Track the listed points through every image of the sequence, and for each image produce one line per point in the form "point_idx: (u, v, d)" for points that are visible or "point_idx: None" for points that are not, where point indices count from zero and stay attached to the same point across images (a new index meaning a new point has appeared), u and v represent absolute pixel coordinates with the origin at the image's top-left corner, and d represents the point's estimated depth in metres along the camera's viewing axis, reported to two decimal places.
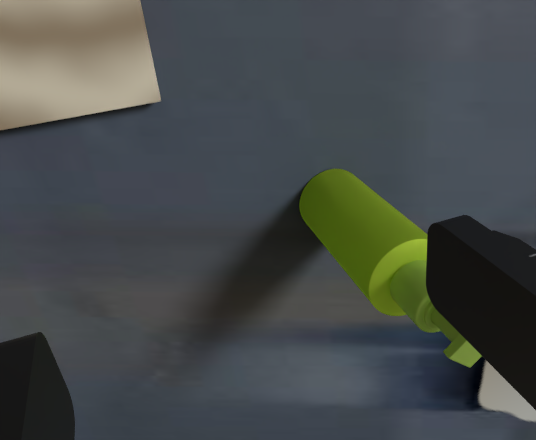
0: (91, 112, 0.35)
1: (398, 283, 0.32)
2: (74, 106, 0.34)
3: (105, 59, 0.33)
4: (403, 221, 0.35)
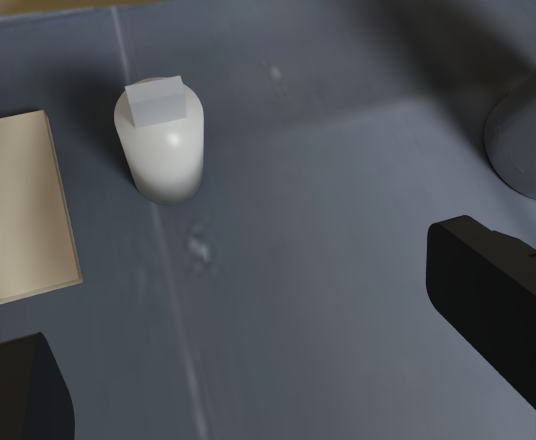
0: None
1: None
2: None
3: None
4: None
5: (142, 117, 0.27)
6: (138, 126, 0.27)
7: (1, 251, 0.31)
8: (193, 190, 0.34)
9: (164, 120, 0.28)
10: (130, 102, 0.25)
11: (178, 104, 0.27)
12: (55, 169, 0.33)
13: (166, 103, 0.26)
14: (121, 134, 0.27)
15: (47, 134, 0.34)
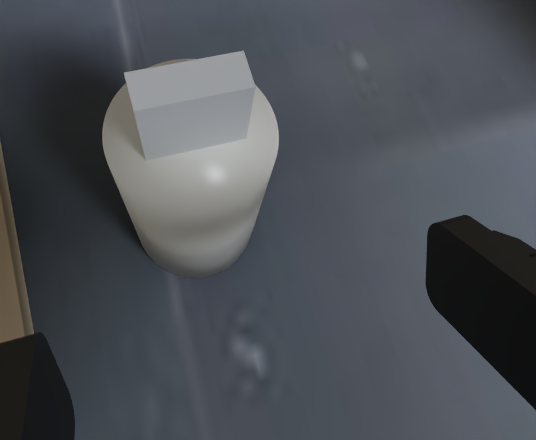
0: None
1: None
2: None
3: None
4: None
5: (160, 139, 0.13)
6: (151, 156, 0.13)
7: None
8: (238, 254, 0.21)
9: (204, 143, 0.14)
10: (136, 108, 0.11)
11: (236, 112, 0.13)
12: (4, 220, 0.19)
13: (213, 110, 0.12)
14: (116, 173, 0.13)
15: None
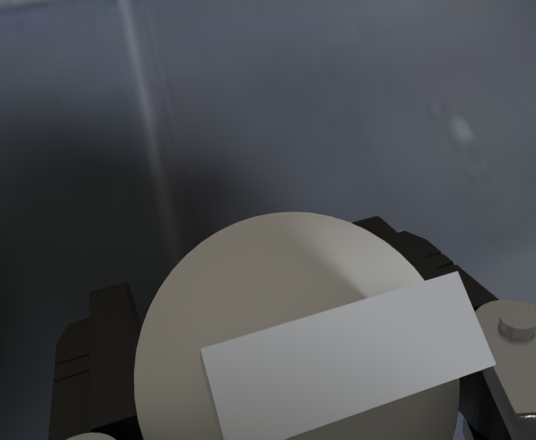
0: None
1: None
2: None
3: None
4: None
5: None
6: None
7: None
8: None
9: None
10: None
11: None
12: None
13: None
14: None
15: None
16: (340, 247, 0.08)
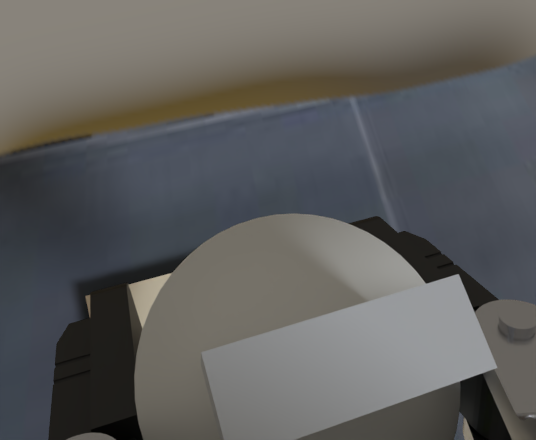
0: None
1: None
2: None
3: None
4: None
5: None
6: None
7: None
8: None
9: None
10: None
11: None
12: None
13: None
14: None
15: None
16: (341, 249, 0.08)
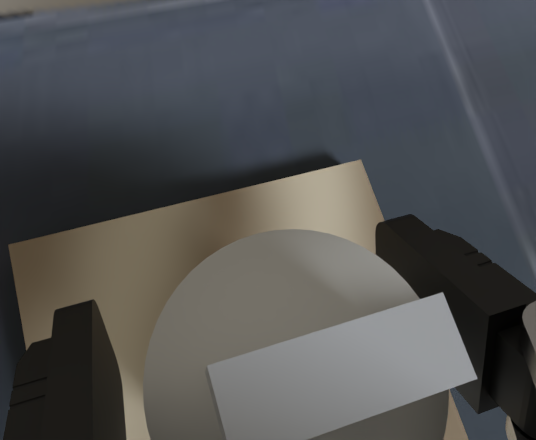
0: None
1: None
2: None
3: None
4: None
5: None
6: None
7: None
8: None
9: None
10: None
11: None
12: None
13: None
14: None
15: (377, 207, 0.18)
16: (336, 262, 0.09)
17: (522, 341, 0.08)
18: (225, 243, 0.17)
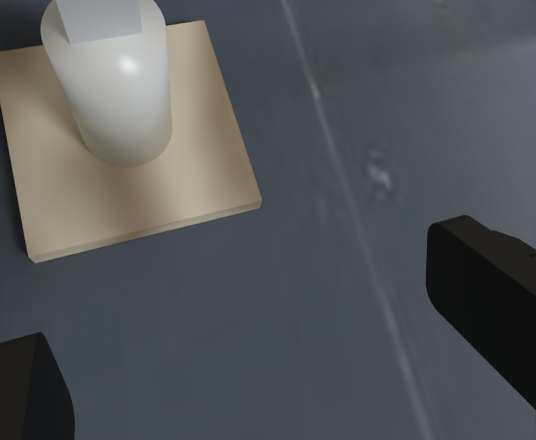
0: (14, 170, 0.26)
1: None
2: (23, 151, 0.27)
3: (85, 187, 0.26)
4: None
5: (77, 24, 0.19)
6: (73, 40, 0.20)
7: (174, 168, 0.27)
8: (158, 148, 0.27)
9: (111, 33, 0.20)
10: None
11: (128, 6, 0.19)
12: (223, 83, 0.30)
13: (110, 2, 0.18)
14: (49, 51, 0.20)
15: (211, 45, 0.30)
16: None
17: None
18: None
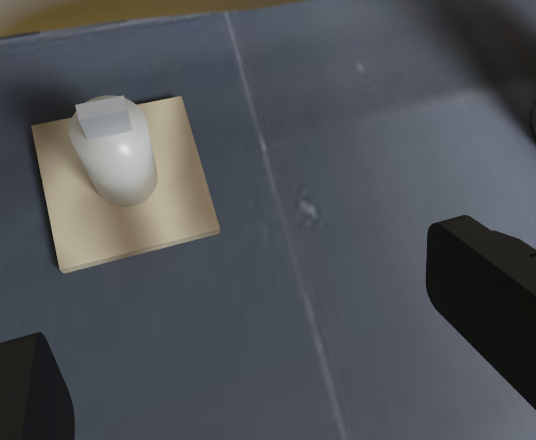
0: (49, 210, 0.38)
1: None
2: (55, 196, 0.39)
3: (97, 221, 0.38)
4: None
5: (92, 131, 0.31)
6: (90, 138, 0.32)
7: (158, 207, 0.39)
8: (147, 193, 0.39)
9: (113, 133, 0.32)
10: (79, 118, 0.29)
11: (123, 120, 0.31)
12: (194, 143, 0.42)
13: (112, 119, 0.30)
14: (75, 145, 0.32)
15: (186, 115, 0.42)
16: None
17: None
18: None
